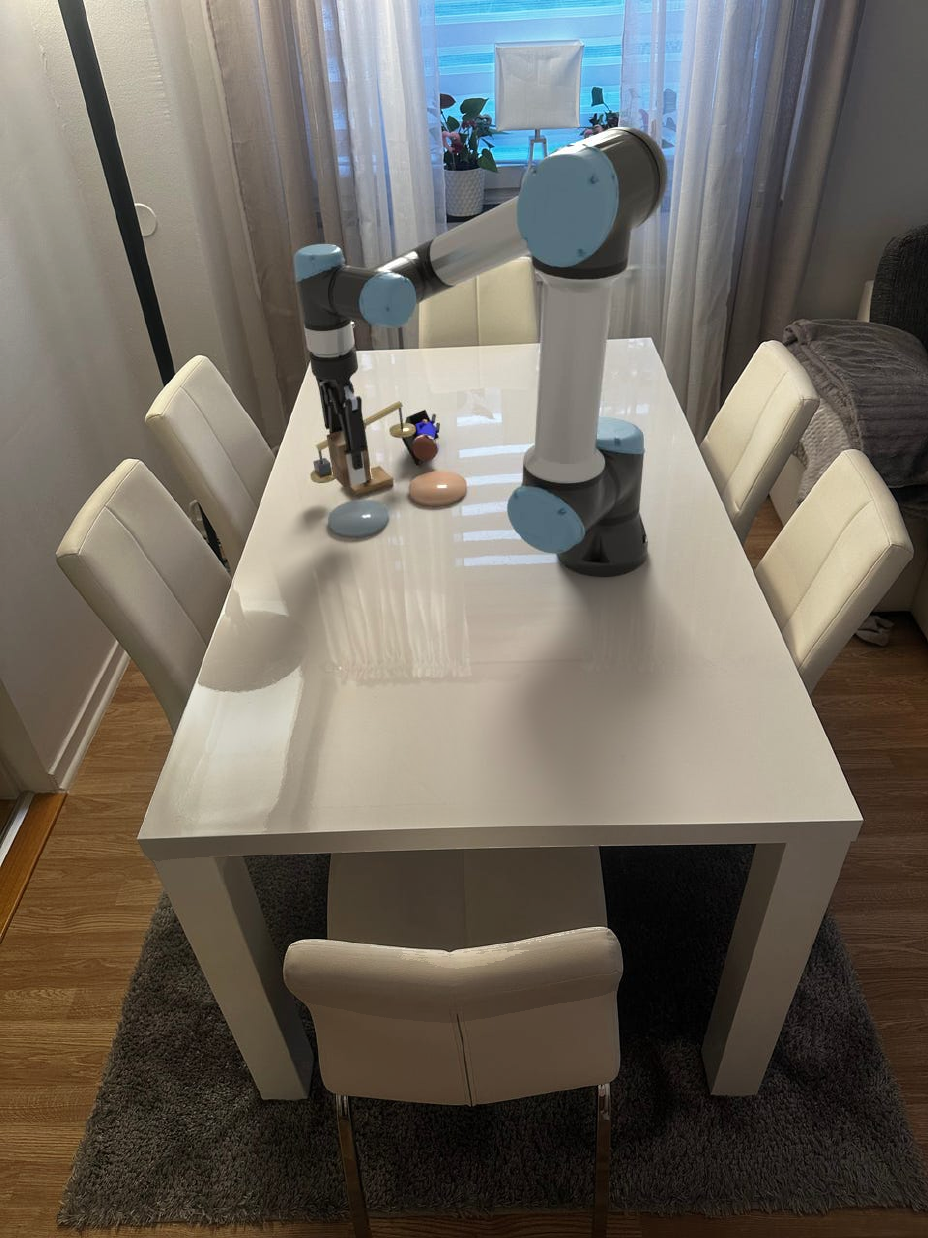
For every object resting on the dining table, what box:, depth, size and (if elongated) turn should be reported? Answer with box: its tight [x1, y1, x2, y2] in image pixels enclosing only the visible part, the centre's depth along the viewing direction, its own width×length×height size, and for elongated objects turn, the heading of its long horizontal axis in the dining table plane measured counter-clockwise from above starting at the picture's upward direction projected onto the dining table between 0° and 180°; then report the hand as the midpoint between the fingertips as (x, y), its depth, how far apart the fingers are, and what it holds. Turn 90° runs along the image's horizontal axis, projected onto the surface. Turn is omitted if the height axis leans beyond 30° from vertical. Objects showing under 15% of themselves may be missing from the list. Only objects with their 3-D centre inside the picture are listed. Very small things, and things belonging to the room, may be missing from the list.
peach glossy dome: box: [408, 470, 468, 507], centre depth 169 cm, size 11×11×1 cm
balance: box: [309, 401, 416, 498], centre depth 168 cm, size 6×22×15 cm, turn 120°
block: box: [325, 430, 370, 489], centre depth 155 cm, size 5×5×8 cm
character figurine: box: [401, 409, 441, 467], centre depth 179 cm, size 8×7×15 cm
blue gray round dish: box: [327, 499, 390, 539], centre depth 162 cm, size 11×11×1 cm
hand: (351, 476), depth 157 cm, fingers closed on block, 5 cm apart
